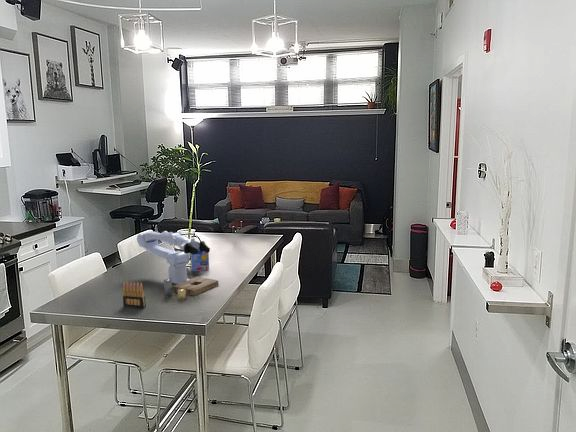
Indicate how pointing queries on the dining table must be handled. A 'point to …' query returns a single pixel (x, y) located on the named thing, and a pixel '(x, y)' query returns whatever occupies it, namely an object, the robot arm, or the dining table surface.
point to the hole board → (196, 285)
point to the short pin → (181, 294)
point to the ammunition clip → (133, 295)
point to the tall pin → (168, 287)
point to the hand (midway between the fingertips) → (203, 251)
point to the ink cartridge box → (200, 261)
